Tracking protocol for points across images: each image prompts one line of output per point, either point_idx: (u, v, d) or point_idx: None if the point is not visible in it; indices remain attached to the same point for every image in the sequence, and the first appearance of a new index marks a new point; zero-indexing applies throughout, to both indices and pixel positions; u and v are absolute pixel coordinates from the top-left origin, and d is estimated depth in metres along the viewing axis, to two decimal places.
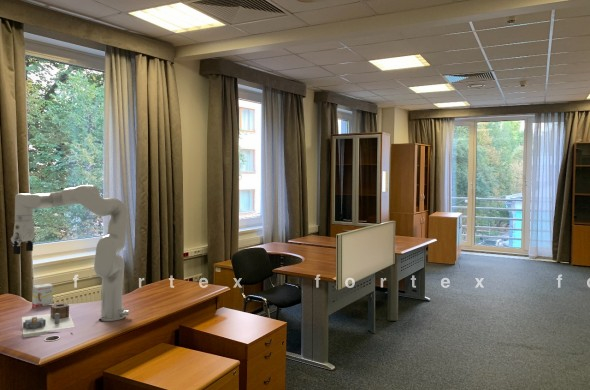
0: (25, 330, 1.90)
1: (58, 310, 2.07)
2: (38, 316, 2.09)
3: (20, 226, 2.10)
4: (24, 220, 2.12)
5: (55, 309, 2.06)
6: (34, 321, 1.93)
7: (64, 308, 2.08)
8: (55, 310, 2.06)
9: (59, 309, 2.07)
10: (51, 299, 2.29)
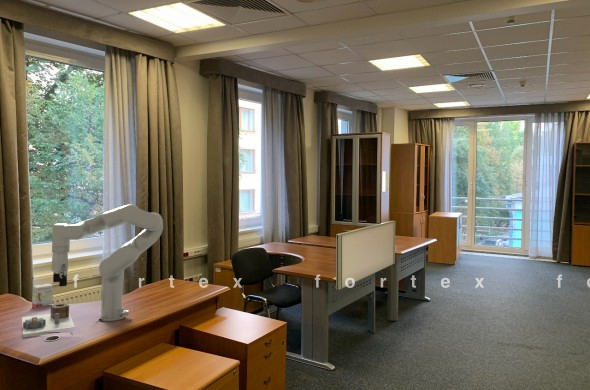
0: (25, 330, 1.90)
1: (58, 310, 2.07)
2: (38, 316, 2.09)
3: None
4: None
5: (55, 309, 2.06)
6: (34, 321, 1.93)
7: (64, 308, 2.08)
8: (55, 310, 2.06)
9: (59, 309, 2.07)
10: (51, 299, 2.29)
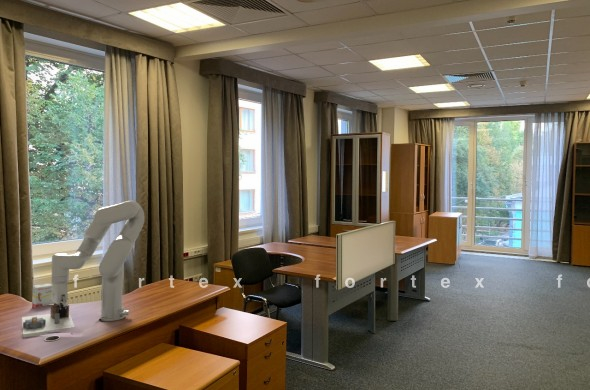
0: (25, 330, 1.90)
1: (58, 310, 2.07)
2: (38, 316, 2.09)
3: None
4: None
5: (55, 309, 2.06)
6: (34, 321, 1.93)
7: None
8: (55, 310, 2.06)
9: None
10: None
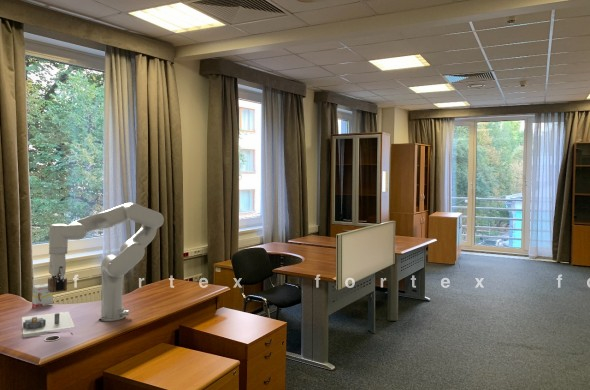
0: (25, 330, 1.90)
1: (55, 283, 1.98)
2: (38, 316, 2.09)
3: None
4: None
5: (52, 282, 1.97)
6: (34, 321, 1.93)
7: None
8: (52, 283, 1.97)
9: None
10: (51, 299, 2.29)
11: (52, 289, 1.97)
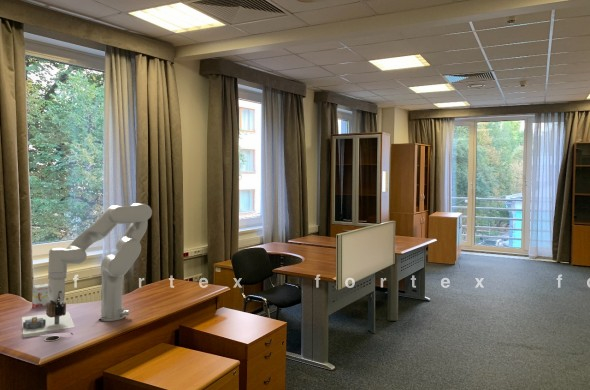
0: (25, 330, 1.90)
1: (54, 308, 1.97)
2: (38, 316, 2.09)
3: None
4: None
5: (51, 306, 1.96)
6: (34, 321, 1.93)
7: None
8: (51, 308, 1.96)
9: None
10: None
11: (51, 314, 1.96)
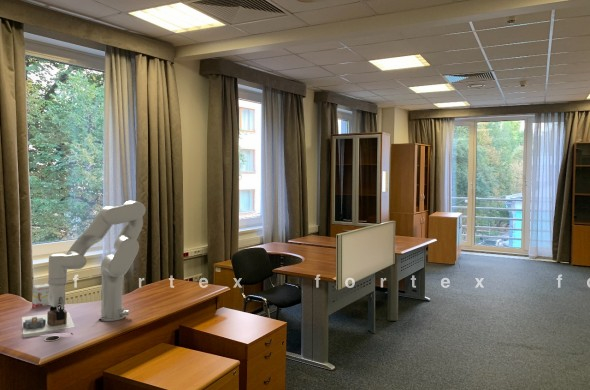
0: (25, 330, 1.90)
1: (55, 317, 1.97)
2: (38, 316, 2.09)
3: None
4: None
5: (52, 315, 1.97)
6: (34, 321, 1.93)
7: None
8: (52, 317, 1.97)
9: None
10: None
11: (52, 323, 1.97)
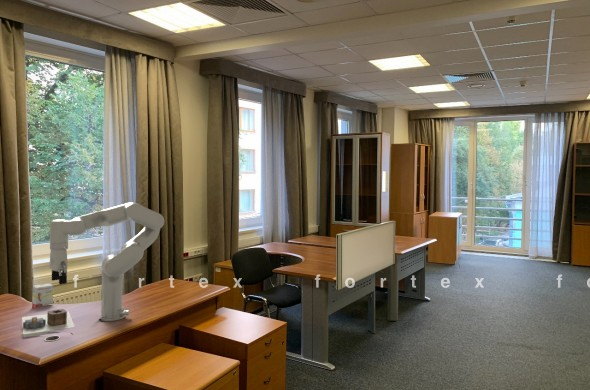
0: (25, 330, 1.90)
1: (55, 317, 1.97)
2: (38, 316, 2.09)
3: None
4: None
5: (52, 315, 1.97)
6: (34, 321, 1.93)
7: (61, 314, 1.99)
8: (52, 317, 1.97)
9: (56, 315, 1.97)
10: (51, 299, 2.29)
11: (52, 323, 1.97)
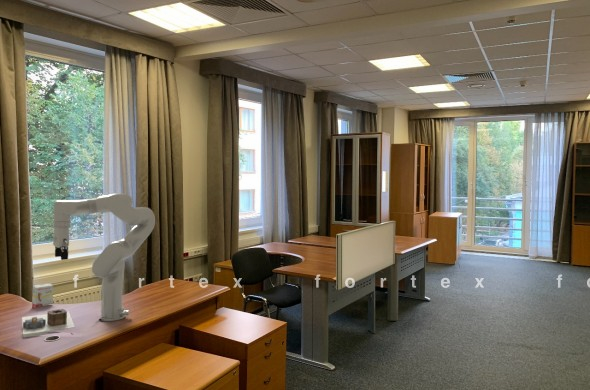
0: (25, 330, 1.90)
1: (55, 317, 1.97)
2: (38, 316, 2.09)
3: None
4: None
5: (52, 315, 1.97)
6: (34, 321, 1.93)
7: (61, 314, 1.99)
8: (52, 317, 1.97)
9: (56, 315, 1.97)
10: (51, 299, 2.29)
11: (52, 323, 1.97)
